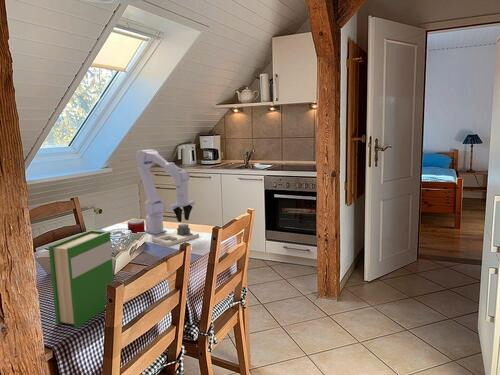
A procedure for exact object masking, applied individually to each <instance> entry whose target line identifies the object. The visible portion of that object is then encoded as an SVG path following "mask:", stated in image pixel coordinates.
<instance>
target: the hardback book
mask: <svg viewBox="0 0 500 375" xmlns="http://www.w3.org/2000/svg"><path fill="white" fill-rule="evenodd" d="M48 254H49V264H50V274H51V283H52V284H51V285H52V296H53V303H54V304H53V305H54V316H55V323H56V326H59V325H62V324H63V323H64V324H71V325H73V328H74V329H78V328H80V327H81V326H83V325H85V323H86V321H87V322H89V321H90V320H91V319H93V318H94V317H96V316H97V315H99V314H100V313H101V312H103V311H104V310H106V309H105V305H106V287H107V285H108V284H110V283H113V282H114V270H113V269H114V268H113V258H112V257H113V256H112V243H111V231H105V230H98V229H97V230H95V229H90V230H87V231H84V232H82V233H80V234H76V235H74V236H71V237H69V238H66V239H64V240H61V241H58V242H56V243H53V244H50V245H48ZM95 315H96V316H95ZM93 316H94V317H93ZM92 317H93V318H92ZM89 319H90V320H89Z"/></svg>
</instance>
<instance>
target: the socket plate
mask: <svg viewBox="0 0 500 375" xmlns="http://www.w3.org/2000/svg"><path fill="white" fill-rule="evenodd" d="M199 237H200V233H199V232H194V231H191V230H190V234H186V235H185V236H181V235H177V231H173V232H170V233H167V234H163V235H160V236H156V237H153V238H151V239H152V240H151V241H152V242H153V243H157V244H159V245H163V246H167V247H169V246H172V245H176V244H179V243H183V242H186V241H189V239H190V240H193V239H196V238H199ZM185 240H186V241H185Z"/></svg>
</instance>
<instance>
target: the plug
mask: <svg viewBox="0 0 500 375" xmlns="http://www.w3.org/2000/svg"><path fill="white" fill-rule="evenodd" d="M177 227H178V228H176V229H177V230H176V232H177V235H181V236H185V235H186V234H190V231H191V228H190V227H189V224H187V223H181V224H178V225H177Z"/></svg>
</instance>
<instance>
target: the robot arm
mask: <svg viewBox="0 0 500 375" xmlns="http://www.w3.org/2000/svg"><path fill="white" fill-rule="evenodd" d="M134 157H135V161H136V164H137V169H138V172H139V175H140V176H139V177H140V178H141V181H142V182H141V183H142V186H143V188H144V193H145V196H146V198H147V199H146V200H145V202H144V211H145V214H146V216H145V219H144V225H145V233H149V234H153V235H157V234H158V235H159V234H161V233H163V232H164V233H165V232H168V230H167V229H164V220H163V218H164V217H163V215H164V213H165V211H166V205H165V203H164V201H163V199H162V198H161V197H159V196H158V194H157V189H156V187H155V183H154V181H153V176H152V174H151V173H152V172H151V170H150V168H151V166H152V165H153V164H154V163H156V164H157V165H159V166H160V167H162V168H163V171H164V172H165V173H166V174H168V175H169V176H170V177H172V179H173V182H174V185H175V193H176V196H175V197H176V202H175V203H173V204H170V205H169V209H170V210H172V211H173V212H174V214H175V217H176V220H177V222H178V223H182V221H183V220H182V218H183V217H184V220H185V221H189V220H190V219H189V218H190V215H191V212H192V210H193V206H194V205H195V200H189V191H188V190H189V189H188V186H189V185H188V181H189V180H190V178H191V177H190V173H189V171H188V170H187V169H182V168H181V167H179V166H177V165H176V164H175V162H172V161H171V162H169V161H167V160H166V159H165V158H164V157H163V156H161V155H160V154H159V152H158V150H156V149H154V148H152V149H142V150H141V149H139V150H138V151H137V152H136V155H135V156H134ZM183 214H184V215H183ZM182 215H183V217H182Z"/></svg>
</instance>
